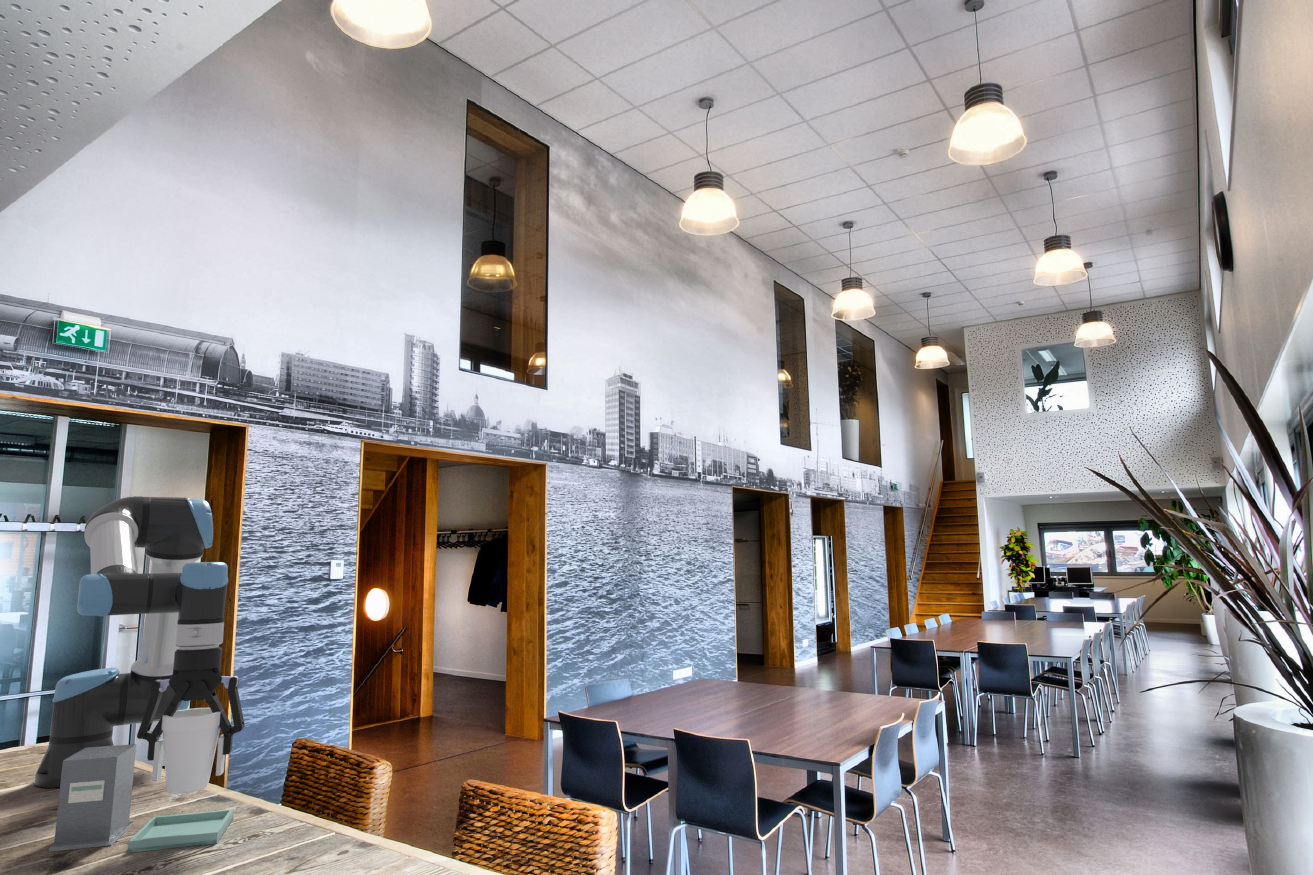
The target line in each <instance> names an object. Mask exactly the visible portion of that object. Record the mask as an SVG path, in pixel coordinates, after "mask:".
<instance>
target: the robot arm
mask: <svg viewBox="0 0 1313 875" xmlns="http://www.w3.org/2000/svg"><path fill="white" fill-rule="evenodd" d="M213 522H214V521H213V512H212V509H211V506H210V504H209V502H208V501H207V500H205V499H202V498H191V497H166V496H142V495H141V496H127V497H122V498H118V499H116V500H113V501H110V502H109V503H107V504H105V505H103V506H101V507H99V509H97V510H96V511H95V512H93V513H92V514H91V515H90V516H89V518H88V519H87V521H86V523H85V525H84V532H83V534H84V535H83V537H84V541H85V543H86V545H87V546H88V547H89V549H90V550H89V551H90V573H89V574H85V575H83V576H81V578H80V579H79V585H78V591H77V592H78V594H77V604H76V605H77V607H76V611H77V613H78V615H80V616H83V617H84V616H85V617H86V616H87V617H89V616H91V617H92V616H93V617H95V616H96V617H97V616H98V617H106V616H126V615H145V617H144V624H143V630H142V631H143V632H142V640H141V648H140V654H139V655H140V656H139V658H138V659H137V660H136V661H134V662H133V663H132V664H131V667H130V672H126V673H120V670H119V668H118V667H106V668H98V669H92V670H86V671H82V672H79V673H73V674H70V675H66V676H64V677H62V678H60V679H59V680H58V681H57V683H56V684H55V688H54V689H55V690H54V695H53V698H52V703H53V705H52V706H53V707H52V714H51V723H50V729H49V739H48V746H47V749H46V751H45V753H44V755H43V757H42V760H41V762H40V764H39V766H38V768H37V770H36V772H35V774H34V786H35V787H38V788H51V789H52V788H60V784H61V774H62V765H63V760H65V759H67V758H69V757H70V756H72V755H74V754H76V753H77V752H79V751H81V750H83V749H84V748H88V747H103V746H115V745H114V741H113V740H114V739H113V735H114V733H113V732H114V727H116V726H117V727H118V726H126V725H135V724H140V725H139V729H138V731H137V734H136V738H137V739H139V740H146V741H147V743H148V746H147V748H148V749H147V761H148V762H149V761H153V762H152V775H151V782H157V781H158V780H160V778H162V773H163V762H164V743H163V738H161V736H162V735H163V730H162V718H163V715H167V716H171V717H173V715H174V713H175V712H176V711H179V710H185V709H189V705H190V702H191V701H192V700H194V701H204V700H205V702H206V704H207V705H208V708H210V709H211V711H212V713H215V712H220V725H219V727H220V731H221V733H222V734H221V735H219V737H218V741H217V755H216V767H215V770H216V771H215V776H216V777H217V776H218V777H219V776H222V775H223V774H224V772H225V761H226V755H229V754H231V752H232V751H233V738H234V737H233V736H234V734H237V733H240V732H242V730H244V729H245V726H246V724H245V718H244V715H243V714H244V713H243V710H242V709H243V708H242V704H241V700H240V694H239V689H238V687H239V682H240V676H239V675H234V676H227V675H226V676H225V675H223V673H222V670H221V668H222V657H223V648H222V647H220V645H221V644H223V643H224V629H225V614H226V613H225V612H226V611H225V610H226V603H227V602H226V601H227V600H226V599H227V590H228V583H229V577H228V575H229V572H228V569H229V567H228V565H227V563H225V562H223V561H210V562H209V561H208V562H207V561H203V562H202V561H199V560H200V559H201V558H203V555H204V549H205V550H206V549H209V548H211V547H212V546H213V541H214V540H213V539H214V525H213V524H214V523H213ZM136 548H145V556H146V558H148V559H149V560H150V561H151V568H150V573H139V569H138V568H139V566H138V562H137V561H138V560H137V554H136ZM197 561H198V562H197ZM221 683H223V685H224V686H223V687H224V688H225V689H227V695H228V701H229V706H230V711H231V717H232V722H233V724H232V723H231V721H230V719H229V717H228V715H227V713H226V711H225V710H224V707H223V705H222V703H221V702H220V701H221V700H220V699H219V696H218V694H217V692H216V689H217V688H218V687H219V686H220V685H221ZM222 710H223V711H222ZM221 711H222V712H221ZM154 722H157V724H156V725H155V727H154V728H153V730H151V729H152V725H153V724H154Z"/></svg>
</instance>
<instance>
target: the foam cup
mask: <svg viewBox="0 0 1313 875" xmlns="http://www.w3.org/2000/svg"><path fill="white" fill-rule="evenodd" d="M222 711H223V710H222ZM222 711H221V712H222ZM219 725H220V712H215V713H212V711H211V709H210V707H195V708H187V709H185V710H179V711H176V712H175V713H174V715H173V717H171V716H167V715H163V718H162V730H163V732H162V737H163V738H162V739H163V743H164V751H163V761H164V774H165V788H166V793H168V794H173V795H177V794H178V795H179V794H181V795H183V794H189V793H195V792H198V791H202V790H204V789H206V788H208V786H209V782H210V779H211V773H212V771H213V770H212V768H213V763H214V761H215V760H214V759H215V756H216V755H215V754H216V750H217V747H218V739H219V737H220V731H221V729H220V727H219Z"/></svg>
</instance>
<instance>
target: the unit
mask: <svg viewBox="0 0 1313 875" xmlns="http://www.w3.org/2000/svg"><path fill="white" fill-rule="evenodd" d="M136 751H137V744H136V743H135V744H134V743H132V744H118V745H114V746H103V747H88V748H84V749H83V750H81V751H79V752H77V753H76V754H74V755H72V756H70V757H69V758H67V759H65V760H63V765H62V774H61V784H60V787H59V794H58V805H57V812H56V822H55V823H56V824H55V831H54V833H55V834H54V840H53V841H54V842H53V844H52V845H51V846H50V847H48V852H49V853H50V852H61V851H68V850H78V849H89V848H99V847H107V846H112V845H113V844H114V843H115V842H116V841H117V840H118V839H120V838H121V837H122V836H123V834H125V833H126V832H127V831H128V830H129V829H130V828H132V827H133V825H134V820H132V821H130V816H131V807H132V806H131V805H132V804H131V803H132V795H133V783H134V773H135V772H134V771H135V761H136Z"/></svg>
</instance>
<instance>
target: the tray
mask: <svg viewBox="0 0 1313 875" xmlns="http://www.w3.org/2000/svg"><path fill="white" fill-rule="evenodd" d="M234 813H235V809H234V808H233V809H231V808H229V809H223V810H221V809H220V810H211V811H202V812H201V811H200V812H191V813H190V812H189V813H181V814H180V813H179V814H170V815H159V816H152V818H150V819H149V821H147V822H146V823H145V824H144V826H142V827H141V829H139V831H137V832H136V833H135V834H134V835H133V836H132V837H131V838H130V839H129V841H128V846H127V853H128V854H131V853H139V852H147V851H148V852H149V851H157V850H167V849H175V848H176V849H178V848H184V847H185V848H186V847H198V846H205V845H213V844H218V842H219V841H220V840H221V838H222V836H223V835H224V834H225V833H226V831H227V829H228V828H229V826H230V825H231V823H232V822H233V820H234V816H235V815H234Z"/></svg>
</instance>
